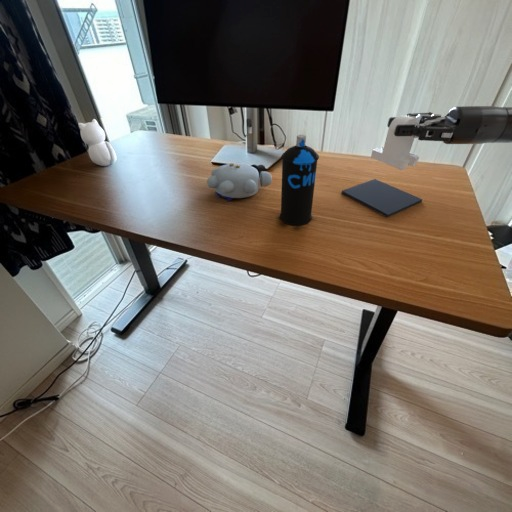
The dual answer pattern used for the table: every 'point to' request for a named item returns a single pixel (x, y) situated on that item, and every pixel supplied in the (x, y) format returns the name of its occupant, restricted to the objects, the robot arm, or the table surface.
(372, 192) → the felt mat
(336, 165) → the table surface
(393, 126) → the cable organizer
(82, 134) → the cat figurine
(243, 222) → the table surface
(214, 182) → the figurine
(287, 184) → the aerosol can
